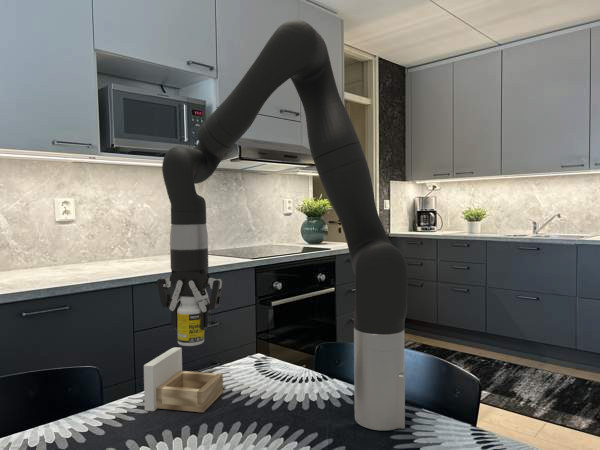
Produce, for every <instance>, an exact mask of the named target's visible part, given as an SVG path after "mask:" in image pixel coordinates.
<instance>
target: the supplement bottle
mask: <svg viewBox="0 0 600 450" xmlns="http://www.w3.org/2000/svg"><path fill="white" fill-rule="evenodd" d="M200 312H202V311H201V308H200V306H199V304H198V302H197V301H196V299H195V297H191V296H181V306H180V307H179V308H178V310H177V329H176V331H177V344H178V345H179V346H183V347H195V346H199V345H201V344H204V342H205V330H201V316H200Z"/></svg>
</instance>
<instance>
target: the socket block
mask: <svg viewBox="0 0 600 450" xmlns="http://www.w3.org/2000/svg"><path fill="white" fill-rule="evenodd" d="M223 376H224V375H223V373H215V372H203V371H201V372H200V371H188V370H182V371H179V372H178V373H176V374H175V375H174V376H172V377H171V378H169V379H168V380H167V381H165V382H164V383H163V384H161V385H160V386H159V387H157V388H156V406H157V409H160V410H161V409H163V410H172V411H173V410H174V411H183V412H193V413H194V412H196V413H205V412H206V410H207V409H208V408H210V407H211V406H212V404H213V403H214V402H215V401H216V400H217V399H218V398H219V397H221V395H222V394H223V393H224V377H223Z"/></svg>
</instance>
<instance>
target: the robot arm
mask: <svg viewBox="0 0 600 450" xmlns="http://www.w3.org/2000/svg"><path fill="white" fill-rule="evenodd" d="M331 64H332V63H331V59H330V55H329V50H328V47H327V44H326V42H325V40H324V38H323V37H322V35H321V34H320V32H318V31H317V30H316V29H315V28H314V27H313V26H312V25H311V24H310V23H308V22H306V21H305V20H301V19H290V20H288V21H285V22H283V23H282V24H281V25H279V26H278V27H277V29H276V30H275V31H274V32H273V34H272V35H271V36H270V37H269V39H268V40H267V42H266V44H265V45H264V46H263V48H262V49H261V51H260V52H259V54H258V56H257V57H256V59H255V60H254V62H253V63H252V64H251V66H250V67H249V68H248V70H247V72H246V73H245V74H244V76H243V77H242V79H241V80H240V81H239V82H238V83H237V85H235V88H234V89H233V90H232V91H231V92H230V93H229V95H227V97H226V98H225V99H224V101H223V102H221V104H220V105H219V106H218V107H217V108H216V109H215V110H214V111H213V112H212V113H211V114H210V115H209V117H207V118H206V120H204V122H203V123H202V124H201V125H200V126H199V128H198V130H197V132H196V137H197V140H198V143H197V144H196V146H195V147H194V148H190V147H186V146H174V147H172V148H169V150H168V151H167V152H166V153H165V155H164V156H163V159H162V169H161V171H162V172H161V173H162V177H163V181H164V185H165V190H166V192H167V196H168V199H169V203H170V224H171V226H170V232H169V233H170V234H169V237H170V238H169V247H170V248H169V251H170V253H169V254H170V255H169V256H170V270H171V272H170V273H171V274H170V276H169V277H166V276H165V277H161V278H159V279H157V280H156V284H157V288H158V294H159V299H160V304H161V307H162V308H164V309H165V308H166V309H169V310H170V323H171V326H172V327H173V329H174V330H177V310H178V308H179V307H180V306H182V303H181V296H191V297H195V299H196V301H197V302H198V304H199V306H200V308H201V311H202V312H200V316H201V330H204V331H206V330H207V329H208V328H209V327H210V326H211V311H212V310H214V309H216V308H219V306H220V305H221V304H220V303H221V299H222V298H221V297H222V292H223V291H222V290H223V287H224V280H223V278H218V279H217V278H213V277H211V275H210V274H209V234H208V229H207V228H208V227H207V203H206V200H205V198H204V197H203V196H201V195H199V193H197V190H196V185H197V184H201V183H203V182H205V181H206V180H208V179H209V178H210V177H211V176H212V175H213V174H214V173H215V171H216V170H217V168H218V167H219V165H220V163H221V162H222V160H223V158H224V156H225V155H226V152H228V151H229V150H230V149H231V148H232V147H233V146H234V145H235V144H236V143H237V142H238V141H239V140H240V139H241V137H243V136H244V135H245V133H246V132H247V131H248V130H249V128H250V127H252V124H253V123H254V122H255V120H256V118H257V116H258V115H259V113H260V112H261V110H262V108H263V106H264V105H265V103H266V102H267V101H268V99H269V98H270V97H271V96H272V95H273V93H275V91H277V89H278V88H279V87H281V86H282V85H283V84H284V83H285V82H287V81H288V80H289V79H291V82H292V84H293V86H294V88H295V90H296V93H297V94H298V97H299V98H300V102H301V104H302V107H303V112H304V114H305V122H306V132H307V141H308V145H309V150H310V154H311V158H312V160H313V163H314V166H315V169H316V172H317V175H318V177H319V179H320V182H321V184H322V186H323V189H324V192H325V194H326V196H327V198H328V200H329V202H330V203H331V207H332V208H333V210H334V212H335V214H336V216H337V218H338V220H339V222H340V225H341V227H342V230H343V233H344V238H345V240H346V244H347V249H348V253H349V256H350V261H351V267H352V271H353V274H354V277H355V278H354V280H355V281H354V282H355V283H354V285H355V287H354V288H355V289H354V290H355V291H354V292H355V293H354V295H355V296H354V297H355V299H354V300H355V301H354V303H355V305H354V313H353V357H354V358H353V361H354V363H353V370H354V371H353V375H354V380H353V381H354V382H353V384H354V385H353V386H354V389H353V390H354V392H353V393H354V394H353V395H354V396H353V397H354V405H353V409H354V420H355V422H356V424H358V425H359V426H361V427H363V428H366V429H370V430H373V431H394V430H396V429H403V430H404V429H405V428H406V403H405V402H406V391H405V390H406V379H405V378H406V374H405V372H406V371H405V370H406V369H405V366H406V365H405V324H406V323H405V321H406V318H407V317H406V316H407V313H408V284H409V283H408V279H409V278H408V275H409V274H408V265H407V261H406V258H405V255H404V254H403V253H402V251H401V250H400V249H399V248H398V247H396V246H395V245H393V244H392V241H390V239H389V237H388V235H387V232H386V230H385V227H384V225H383V223H382V221H381V218H380V216H379V214H378V210H377V209H378V208H377V205H376V199H375V194H374V193H375V192H374V187H373V181H372V176H371V173H370V168H369V164H368V162H367V158H366V155H365V153H364V150H363V147H362V144H361V142H360V139H359V137H358V135H357V132H356V130H355V126H354V125H353V122H352V119H351V118H350V115H349V113H348V111H347V109H346V106H345V105H344V102H343V100H342V98H341V96H340V93H339V90H338V87H337V83H336V79H335V76H334V72H333V71H334V70H333V68H332V65H331ZM171 285H172V286H173V288H174V291H173V294H172V293H171V292H172V291H171V288H170V287H171ZM208 285H209V287H210V289H211V293H210V298H209V295H208V292H207V288H206V287H208Z"/></svg>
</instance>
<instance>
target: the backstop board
mask: <svg viewBox="0 0 600 450" xmlns="http://www.w3.org/2000/svg"><path fill="white" fill-rule="evenodd" d="M182 349H183V348H182V347H172V348H170V349H168V350H166V351H165V352H163V353H161V354H159V356H158V355H157V356H156V357H155V358H153V359H152V360H150V361H149V362H147V363H145V364H144V365H143V384H144V385H143V391H144V392H143V393H144V394H143V395H144V397H143V399H144V411H148V412H155V411H156V410H157V409H158V408H157V406H156V388H157V387H159V386H160V385H161V384H163V383H164V382H165V381H167V380H168V379H169V378H171V377H172V376H174V375H175V374H176V373H178V372H179V371H183V354H182V353H183V350H182Z"/></svg>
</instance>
